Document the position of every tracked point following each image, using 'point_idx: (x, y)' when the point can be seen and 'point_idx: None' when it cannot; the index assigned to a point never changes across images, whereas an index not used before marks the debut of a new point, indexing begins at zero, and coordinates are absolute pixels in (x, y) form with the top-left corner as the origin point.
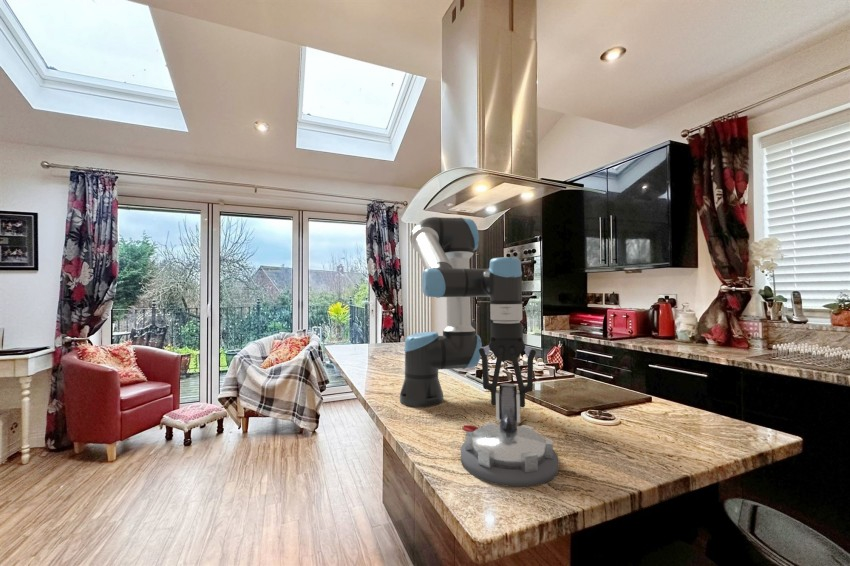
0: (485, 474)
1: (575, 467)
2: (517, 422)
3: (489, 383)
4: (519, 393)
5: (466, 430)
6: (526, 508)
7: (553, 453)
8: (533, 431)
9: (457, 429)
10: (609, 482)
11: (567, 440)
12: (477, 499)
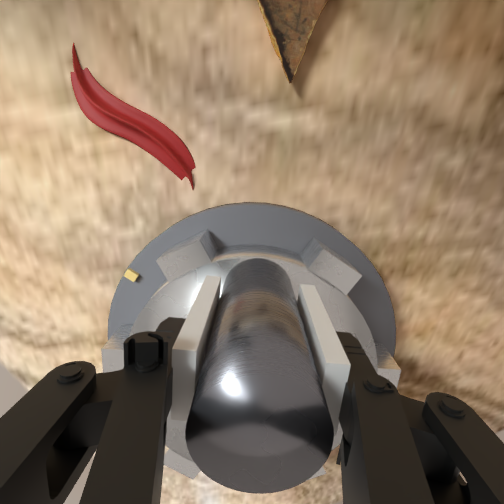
0: None
1: (427, 340)
2: (316, 8)
3: (92, 402)
4: (339, 412)
5: (96, 124)
6: (274, 494)
7: (386, 338)
8: (352, 313)
9: (57, 107)
10: (479, 395)
11: (481, 150)
12: (184, 483)
